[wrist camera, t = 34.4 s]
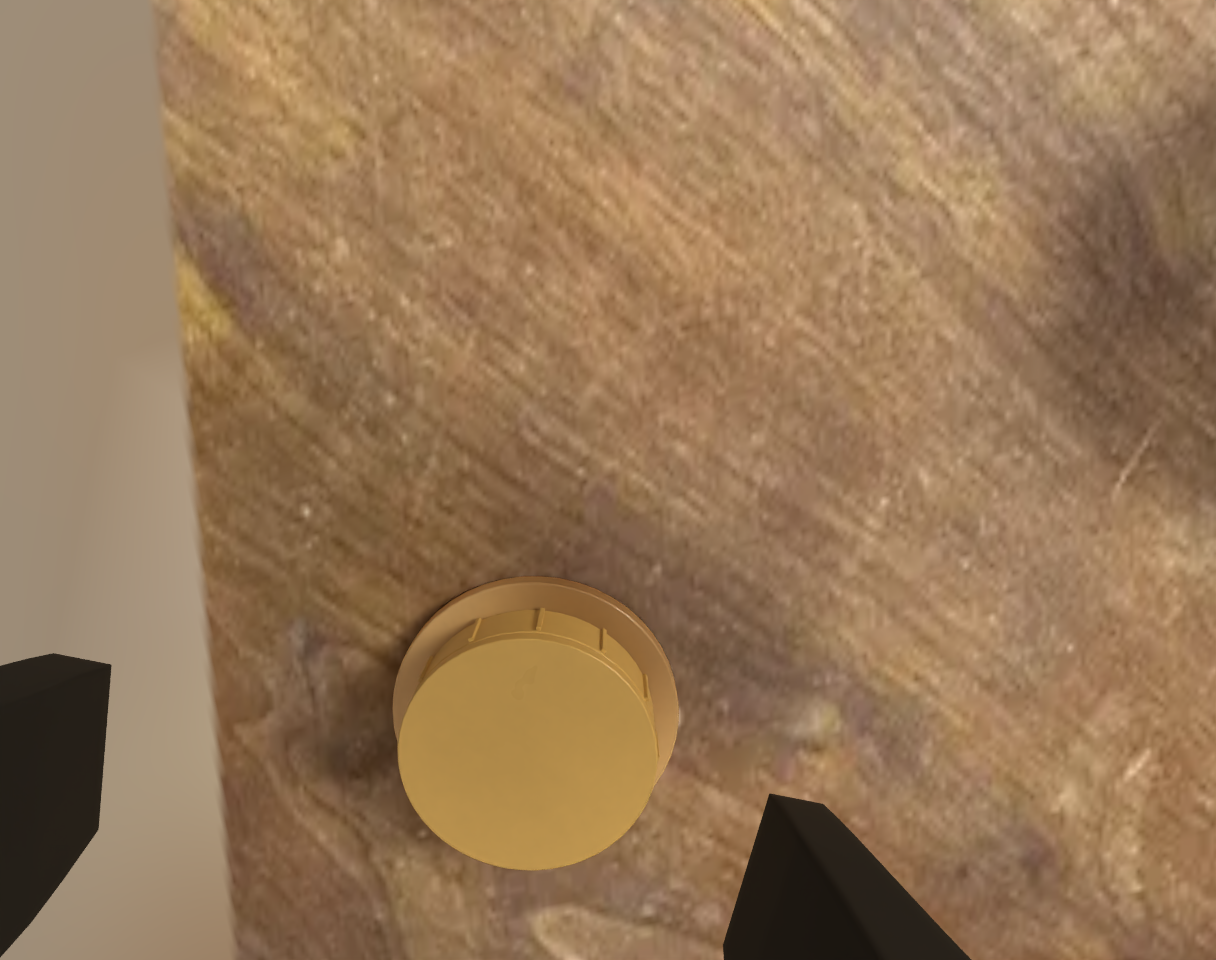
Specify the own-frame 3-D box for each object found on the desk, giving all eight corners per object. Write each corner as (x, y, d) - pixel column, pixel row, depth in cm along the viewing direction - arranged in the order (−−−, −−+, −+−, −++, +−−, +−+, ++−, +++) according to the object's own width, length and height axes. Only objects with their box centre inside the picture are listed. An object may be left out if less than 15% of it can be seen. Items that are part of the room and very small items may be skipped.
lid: (605, 852, 20) (605, 901, 18) (385, 782, 19) (365, 826, 18) (689, 655, 19) (696, 689, 17) (456, 575, 18) (442, 602, 17)
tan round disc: (418, 838, 20) (413, 852, 20) (376, 587, 19) (370, 595, 18) (686, 818, 20) (688, 830, 20) (667, 563, 19) (668, 570, 18)
